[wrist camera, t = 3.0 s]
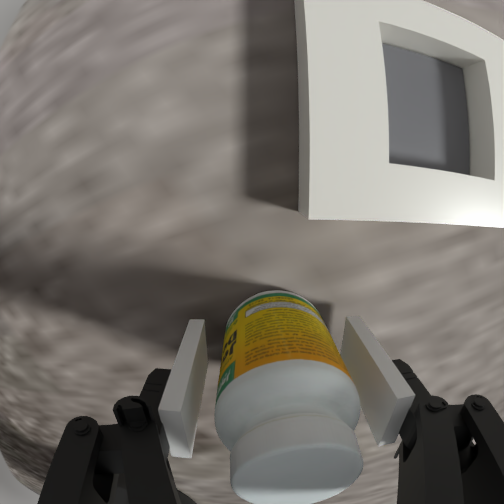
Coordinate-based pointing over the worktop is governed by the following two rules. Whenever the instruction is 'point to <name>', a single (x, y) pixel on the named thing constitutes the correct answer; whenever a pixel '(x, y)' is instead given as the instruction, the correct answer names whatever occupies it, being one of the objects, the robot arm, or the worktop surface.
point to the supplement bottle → (286, 403)
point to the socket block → (399, 114)
